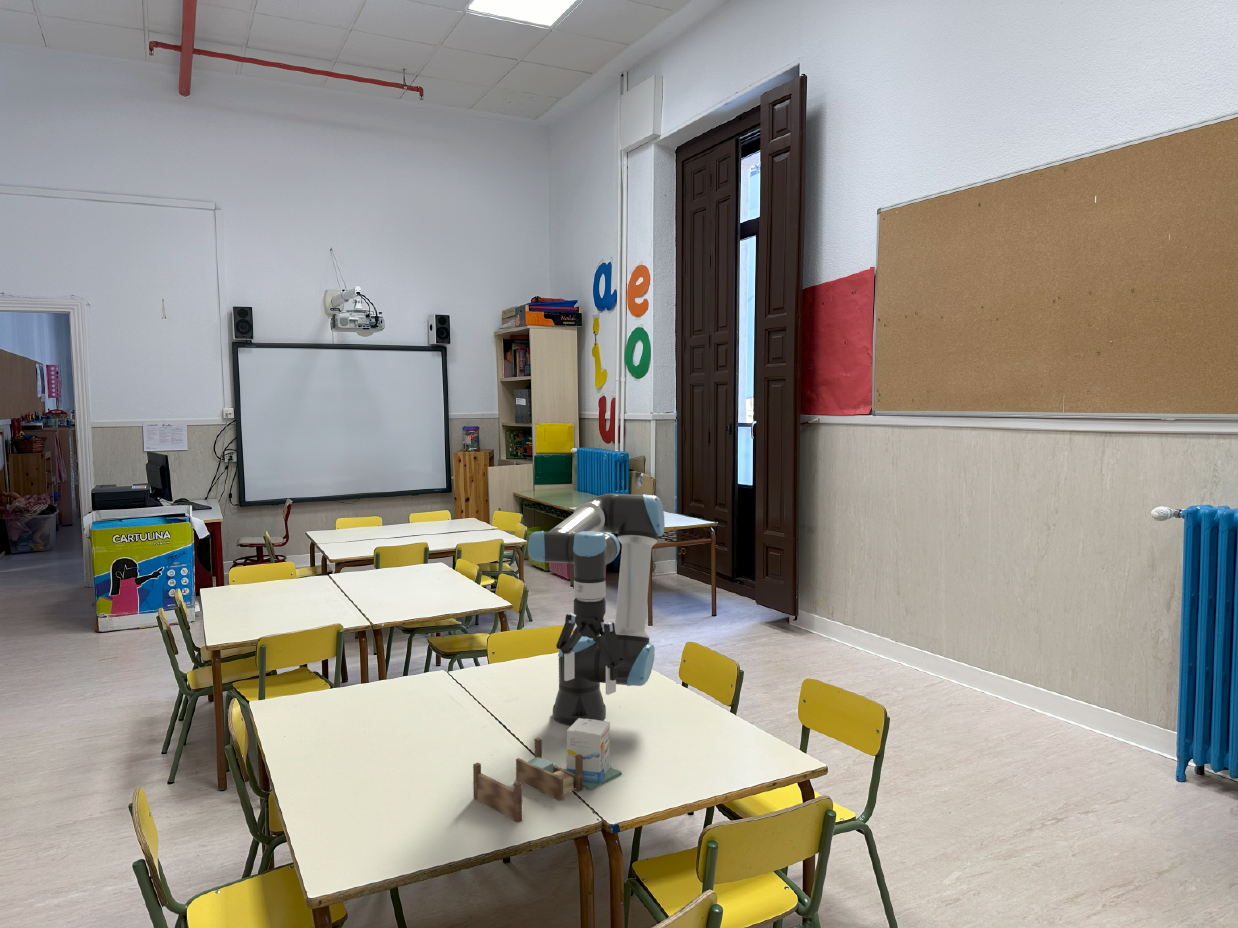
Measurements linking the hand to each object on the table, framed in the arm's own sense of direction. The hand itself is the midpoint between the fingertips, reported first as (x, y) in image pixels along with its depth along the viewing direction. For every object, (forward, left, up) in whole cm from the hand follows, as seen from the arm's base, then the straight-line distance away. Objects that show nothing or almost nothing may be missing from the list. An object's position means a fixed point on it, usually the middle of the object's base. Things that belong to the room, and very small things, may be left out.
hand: (589, 686), depth 190 cm
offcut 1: (-6, -10, -20) cm, 23 cm away
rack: (-3, -16, -22) cm, 27 cm away
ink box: (0, -1, -21) cm, 21 cm away
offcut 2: (0, -10, -22) cm, 24 cm away
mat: (0, 0, -22) cm, 22 cm away
